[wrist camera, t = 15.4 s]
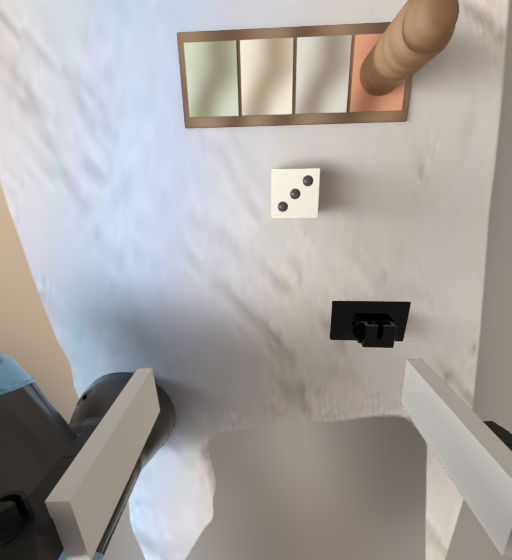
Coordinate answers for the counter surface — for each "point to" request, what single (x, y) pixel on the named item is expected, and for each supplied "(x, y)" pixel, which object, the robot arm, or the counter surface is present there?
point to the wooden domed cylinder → (408, 44)
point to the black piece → (369, 322)
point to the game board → (283, 77)
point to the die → (295, 193)
